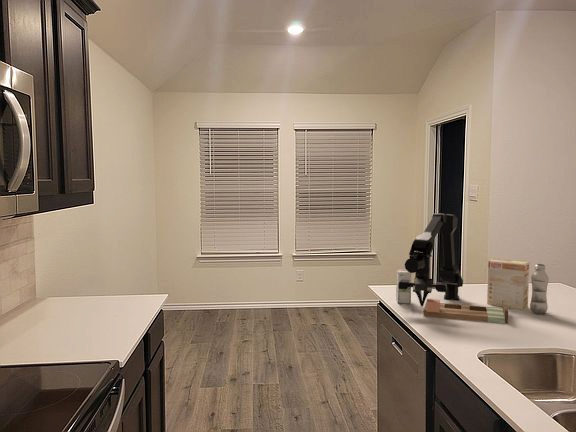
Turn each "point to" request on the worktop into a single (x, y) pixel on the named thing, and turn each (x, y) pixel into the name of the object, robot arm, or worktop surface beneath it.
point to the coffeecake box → (508, 283)
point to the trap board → (471, 312)
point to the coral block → (433, 305)
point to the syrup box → (403, 294)
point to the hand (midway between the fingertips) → (422, 306)
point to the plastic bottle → (539, 289)
